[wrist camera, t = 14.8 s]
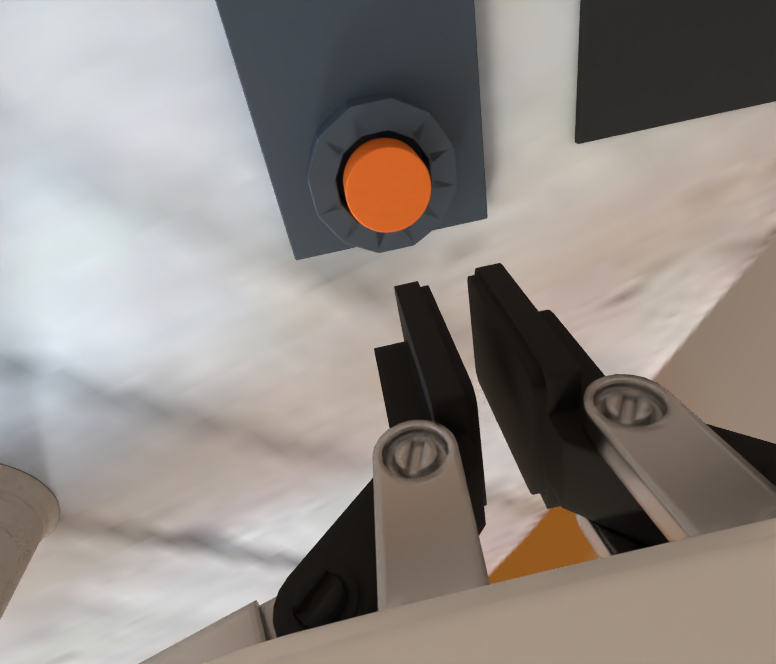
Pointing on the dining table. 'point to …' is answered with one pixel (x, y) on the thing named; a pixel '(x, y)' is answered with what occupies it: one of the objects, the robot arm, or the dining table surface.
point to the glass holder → (21, 525)
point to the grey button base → (360, 107)
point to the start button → (386, 185)
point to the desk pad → (671, 62)
